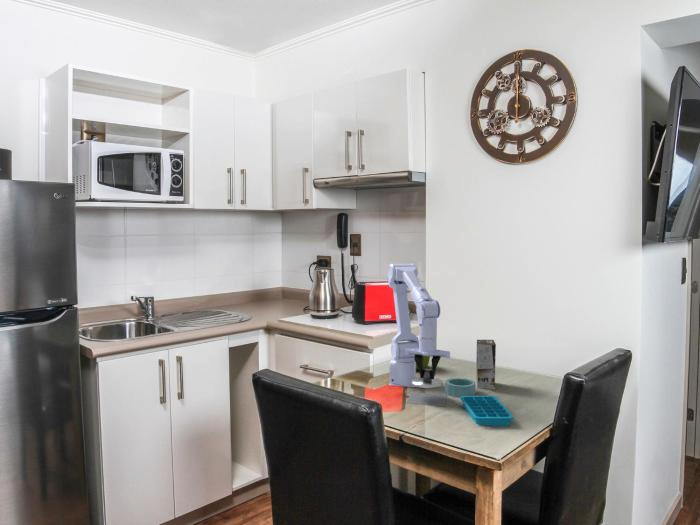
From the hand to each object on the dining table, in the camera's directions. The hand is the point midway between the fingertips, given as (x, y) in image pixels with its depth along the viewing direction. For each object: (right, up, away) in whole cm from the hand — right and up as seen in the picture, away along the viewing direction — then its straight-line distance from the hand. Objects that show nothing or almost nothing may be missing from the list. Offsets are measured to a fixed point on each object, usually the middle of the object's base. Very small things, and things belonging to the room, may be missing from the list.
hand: (427, 377), depth 179 cm
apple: (+1, -5, +41) cm, 41 cm away
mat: (0, -7, 0) cm, 7 cm away
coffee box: (+23, -7, +17) cm, 29 cm away
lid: (0, -2, 0) cm, 2 cm away
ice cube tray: (+16, -9, -13) cm, 23 cm away
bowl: (+12, -7, +7) cm, 16 cm away
